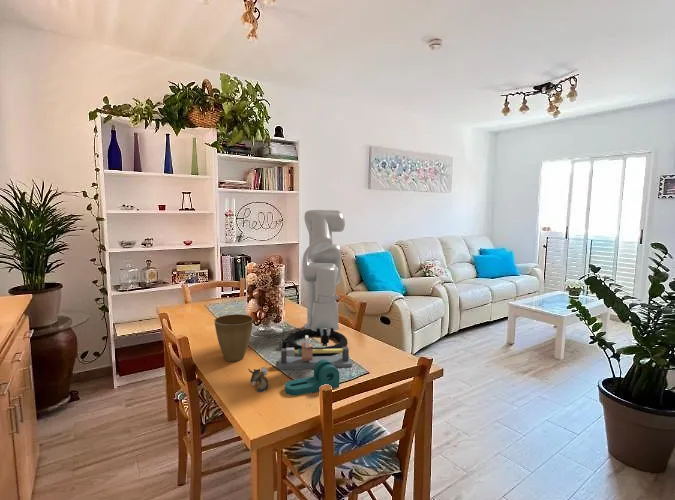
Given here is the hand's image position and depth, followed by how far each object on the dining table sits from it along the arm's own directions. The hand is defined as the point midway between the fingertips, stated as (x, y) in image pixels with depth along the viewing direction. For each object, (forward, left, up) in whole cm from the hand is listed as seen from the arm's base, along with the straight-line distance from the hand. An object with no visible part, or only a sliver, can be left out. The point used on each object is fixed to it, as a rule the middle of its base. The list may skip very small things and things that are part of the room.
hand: (324, 344), depth 147 cm
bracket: (+19, -7, -8) cm, 22 cm away
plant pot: (-8, -35, -8) cm, 37 cm away
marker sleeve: (0, -7, -5) cm, 9 cm away
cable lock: (-20, -3, -8) cm, 22 cm away
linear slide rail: (0, -4, -8) cm, 8 cm away
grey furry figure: (+16, -24, -8) cm, 30 cm away
